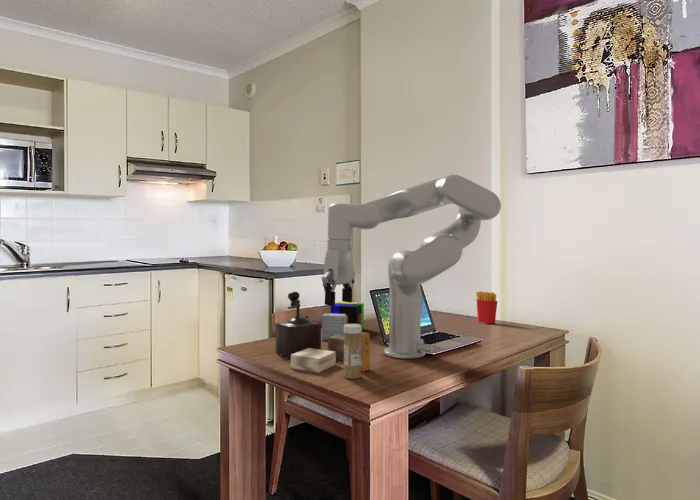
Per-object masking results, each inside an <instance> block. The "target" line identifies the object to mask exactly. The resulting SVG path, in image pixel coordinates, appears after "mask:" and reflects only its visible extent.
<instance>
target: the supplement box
mask: <svg viewBox="0 0 700 500" xmlns="http://www.w3.org/2000/svg"><path fill="white" fill-rule="evenodd" d="M370 337H371V336H370V333H369V332H365V331H361V365H360V366H361V368H360V369H361V370H360V371H361V372H363V373H364V372H366V371H368V370H371V344H370V343H371V342H370V341H371V340H370Z"/></svg>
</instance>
